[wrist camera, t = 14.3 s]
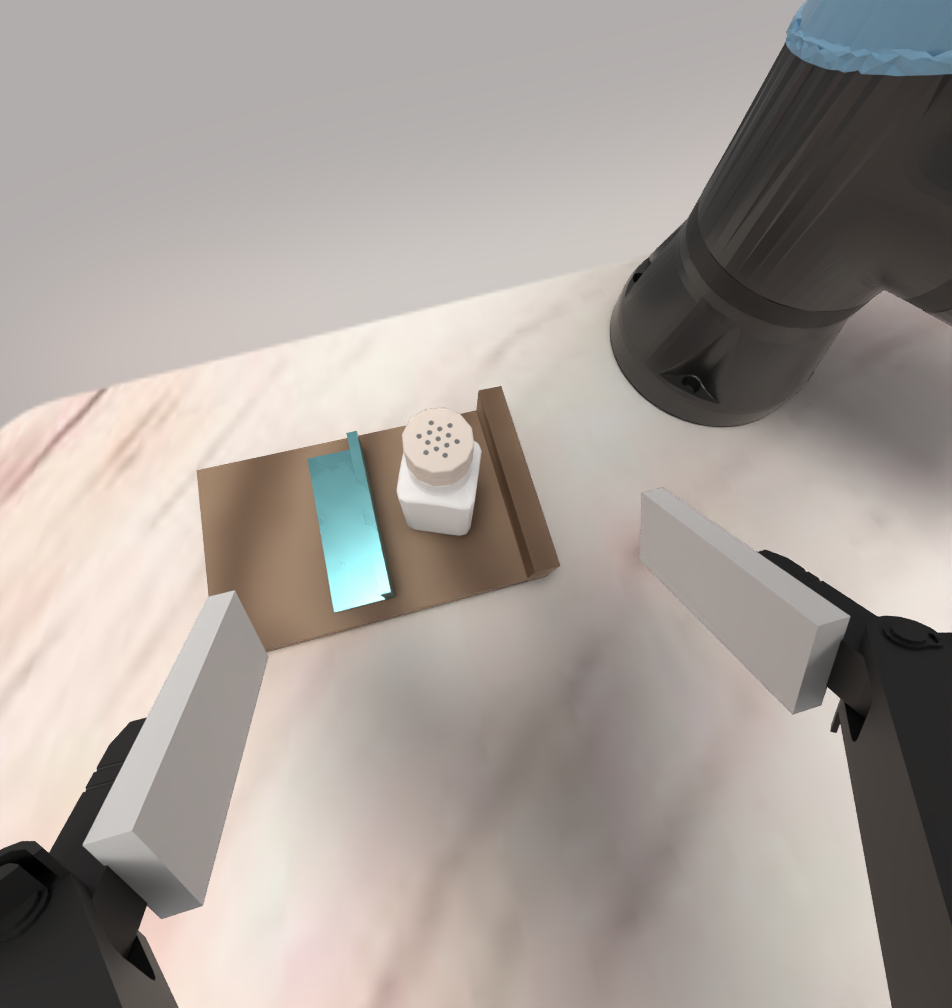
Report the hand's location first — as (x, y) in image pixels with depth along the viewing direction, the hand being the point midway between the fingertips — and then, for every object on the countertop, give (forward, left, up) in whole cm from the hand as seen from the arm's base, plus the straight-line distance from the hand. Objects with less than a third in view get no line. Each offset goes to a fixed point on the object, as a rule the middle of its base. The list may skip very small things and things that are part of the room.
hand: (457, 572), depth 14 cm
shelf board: (+4, -6, -14) cm, 16 cm away
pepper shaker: (-1, -6, -13) cm, 15 cm away
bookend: (+5, -6, -13) cm, 15 cm away
